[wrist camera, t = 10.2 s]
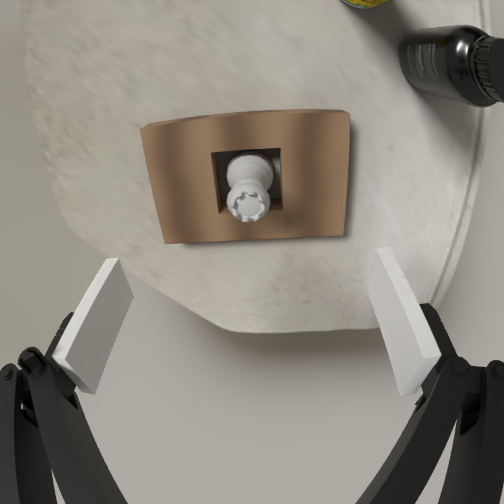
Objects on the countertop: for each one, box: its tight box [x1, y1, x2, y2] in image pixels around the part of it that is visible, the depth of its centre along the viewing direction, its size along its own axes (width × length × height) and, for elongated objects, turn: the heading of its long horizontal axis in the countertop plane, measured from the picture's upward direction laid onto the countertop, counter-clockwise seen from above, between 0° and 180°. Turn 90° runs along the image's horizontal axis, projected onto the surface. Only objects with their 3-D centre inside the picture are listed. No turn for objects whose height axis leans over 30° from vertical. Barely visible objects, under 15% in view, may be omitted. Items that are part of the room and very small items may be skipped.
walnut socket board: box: [140, 109, 350, 244], centre depth 27 cm, size 18×12×2 cm, turn 94°
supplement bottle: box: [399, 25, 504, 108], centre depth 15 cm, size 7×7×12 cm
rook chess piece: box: [227, 151, 274, 223], centre depth 25 cm, size 4×4×8 cm
